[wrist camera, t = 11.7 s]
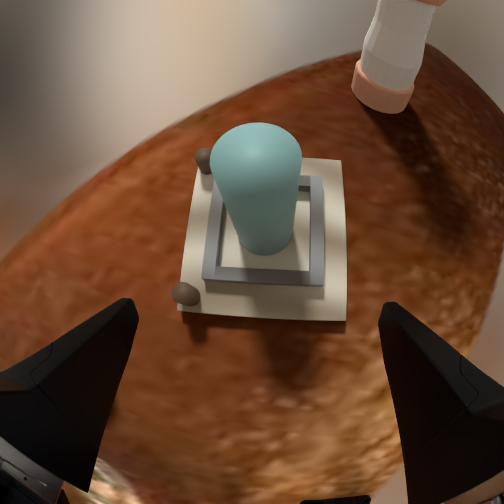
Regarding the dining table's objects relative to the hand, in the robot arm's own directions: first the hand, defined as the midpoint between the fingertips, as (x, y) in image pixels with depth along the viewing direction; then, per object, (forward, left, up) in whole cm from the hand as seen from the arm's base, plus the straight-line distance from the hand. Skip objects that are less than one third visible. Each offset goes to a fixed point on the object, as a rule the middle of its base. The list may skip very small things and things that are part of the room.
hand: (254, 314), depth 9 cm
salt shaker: (+26, -12, -13) cm, 32 cm away
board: (+7, +1, -12) cm, 15 cm away
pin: (+7, +1, -11) cm, 14 cm away
